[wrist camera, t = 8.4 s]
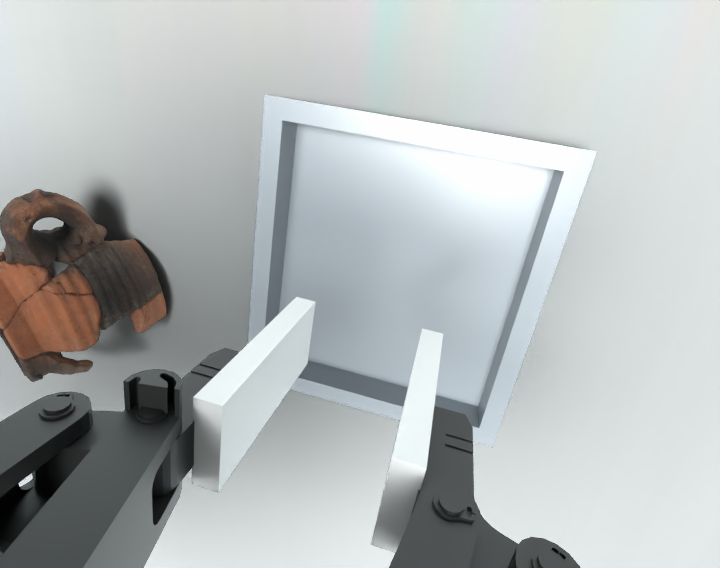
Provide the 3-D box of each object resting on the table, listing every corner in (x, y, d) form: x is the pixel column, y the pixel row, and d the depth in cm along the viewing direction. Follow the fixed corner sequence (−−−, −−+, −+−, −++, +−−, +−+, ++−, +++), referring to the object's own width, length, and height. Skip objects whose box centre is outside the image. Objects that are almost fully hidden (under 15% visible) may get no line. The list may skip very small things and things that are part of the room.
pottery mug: (185, 353, 30) (54, 424, 25) (124, 298, 35) (4, 347, 30) (144, 190, 23) (-47, 239, 18) (77, 151, 28) (-89, 180, 23)
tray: (263, 356, 28) (245, 376, 26) (285, 97, 22) (264, 94, 20) (490, 419, 26) (492, 447, 24) (582, 148, 20) (597, 151, 18)
